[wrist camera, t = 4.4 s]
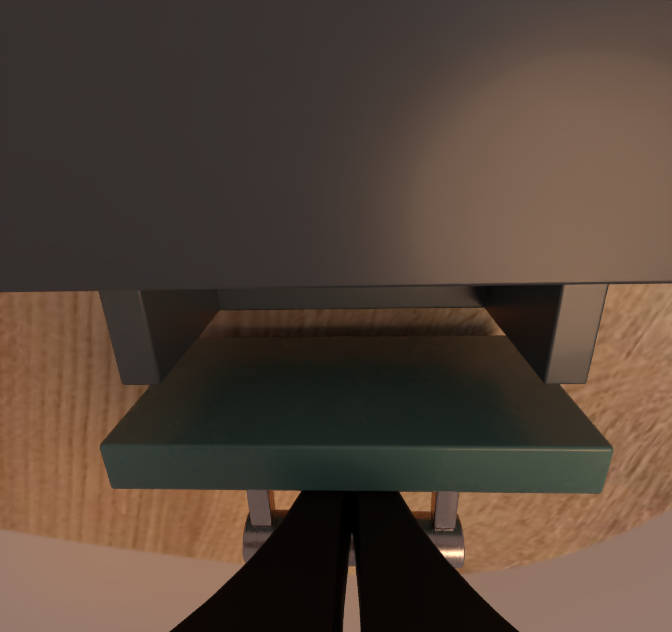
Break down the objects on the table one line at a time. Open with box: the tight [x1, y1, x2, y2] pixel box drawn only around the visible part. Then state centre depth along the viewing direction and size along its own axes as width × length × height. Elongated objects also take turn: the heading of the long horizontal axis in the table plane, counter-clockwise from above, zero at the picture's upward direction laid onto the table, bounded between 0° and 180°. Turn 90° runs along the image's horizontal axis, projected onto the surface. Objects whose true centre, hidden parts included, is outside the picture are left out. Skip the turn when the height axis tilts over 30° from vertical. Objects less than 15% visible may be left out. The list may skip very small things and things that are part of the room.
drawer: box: [99, 284, 613, 568], centre depth 10 cm, size 17×10×5 cm, turn 2°
